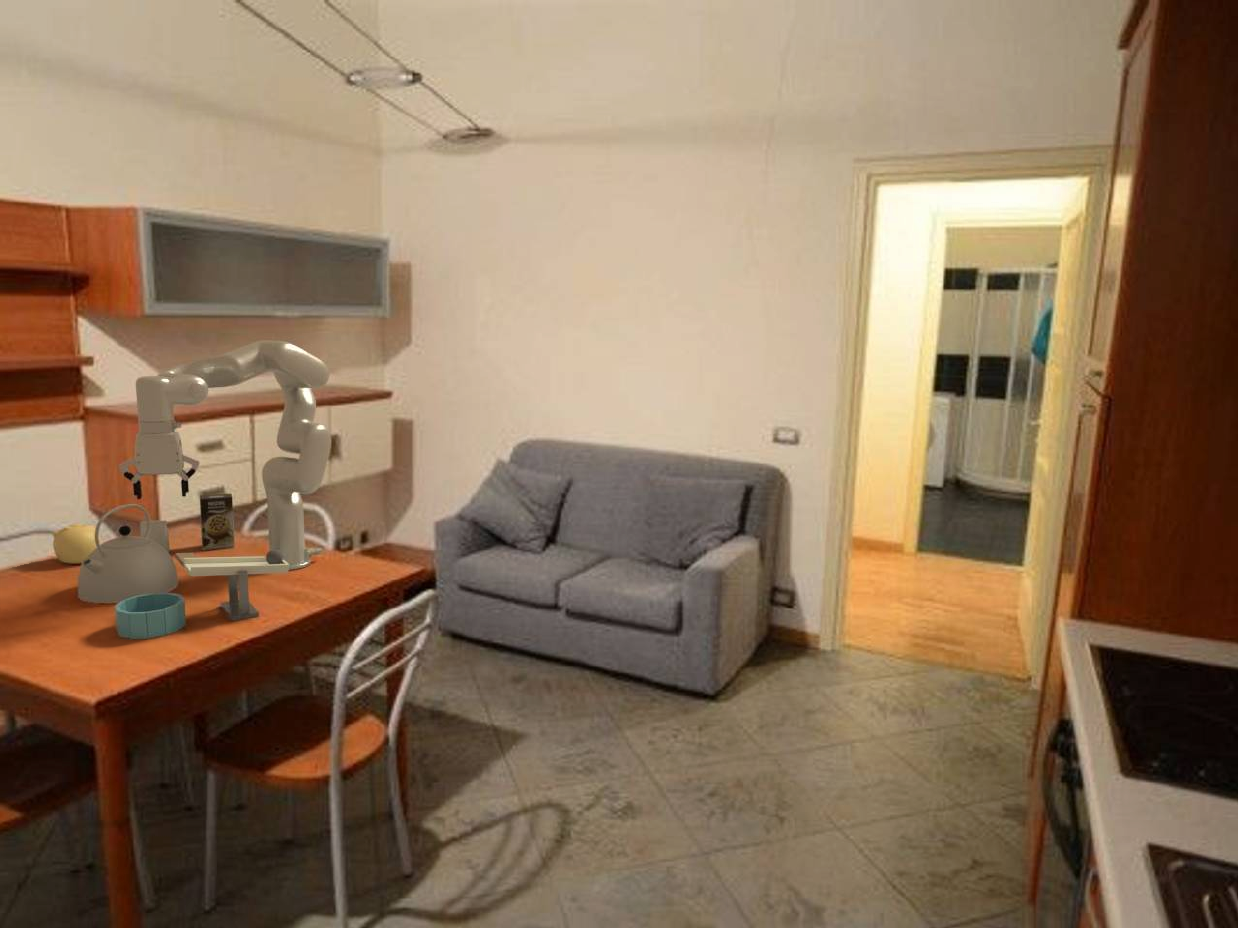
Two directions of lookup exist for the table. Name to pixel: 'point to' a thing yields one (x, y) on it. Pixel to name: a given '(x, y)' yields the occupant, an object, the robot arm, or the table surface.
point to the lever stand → (241, 606)
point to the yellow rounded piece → (74, 543)
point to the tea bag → (156, 533)
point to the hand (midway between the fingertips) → (162, 496)
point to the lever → (228, 565)
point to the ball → (274, 557)
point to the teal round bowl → (150, 615)
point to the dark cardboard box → (217, 521)
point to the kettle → (125, 567)
